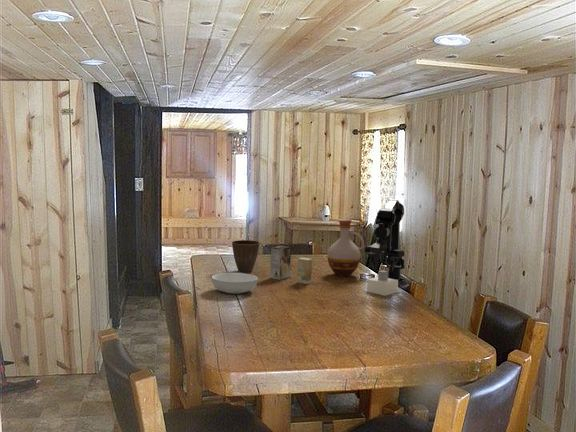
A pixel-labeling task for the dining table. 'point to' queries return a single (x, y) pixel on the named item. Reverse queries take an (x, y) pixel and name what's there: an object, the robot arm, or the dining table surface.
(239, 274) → the serving bowl
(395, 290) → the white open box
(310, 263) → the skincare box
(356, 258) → the jug
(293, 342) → the dining table surface
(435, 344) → the dining table surface
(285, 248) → the coffee box
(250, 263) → the plant pot
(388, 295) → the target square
